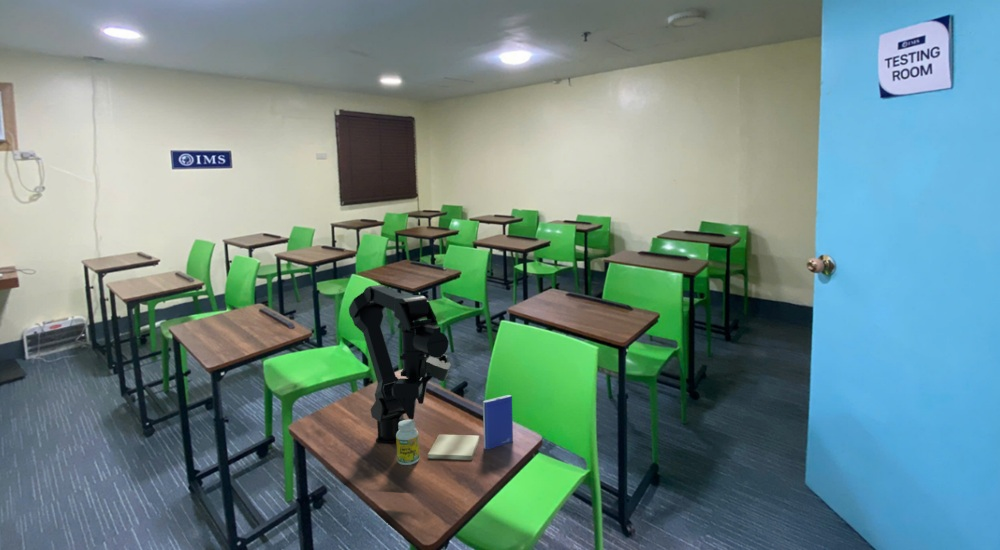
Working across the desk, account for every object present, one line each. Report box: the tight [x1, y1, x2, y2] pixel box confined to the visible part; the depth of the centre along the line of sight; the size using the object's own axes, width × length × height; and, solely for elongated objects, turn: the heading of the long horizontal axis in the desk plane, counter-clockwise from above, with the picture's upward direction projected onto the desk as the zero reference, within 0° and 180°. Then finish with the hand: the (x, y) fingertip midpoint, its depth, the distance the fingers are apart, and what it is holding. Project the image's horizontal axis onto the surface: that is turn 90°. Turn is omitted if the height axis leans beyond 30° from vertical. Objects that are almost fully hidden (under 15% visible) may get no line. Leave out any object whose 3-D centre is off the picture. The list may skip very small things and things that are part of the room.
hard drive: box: [482, 394, 514, 450], centre depth 122 cm, size 2×8×12 cm, turn 121°
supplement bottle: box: [395, 419, 420, 466], centre depth 115 cm, size 5×5×10 cm
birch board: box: [427, 433, 480, 461], centre depth 121 cm, size 11×11×2 cm
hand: (416, 410), depth 115 cm, fingers open, 9 cm apart
